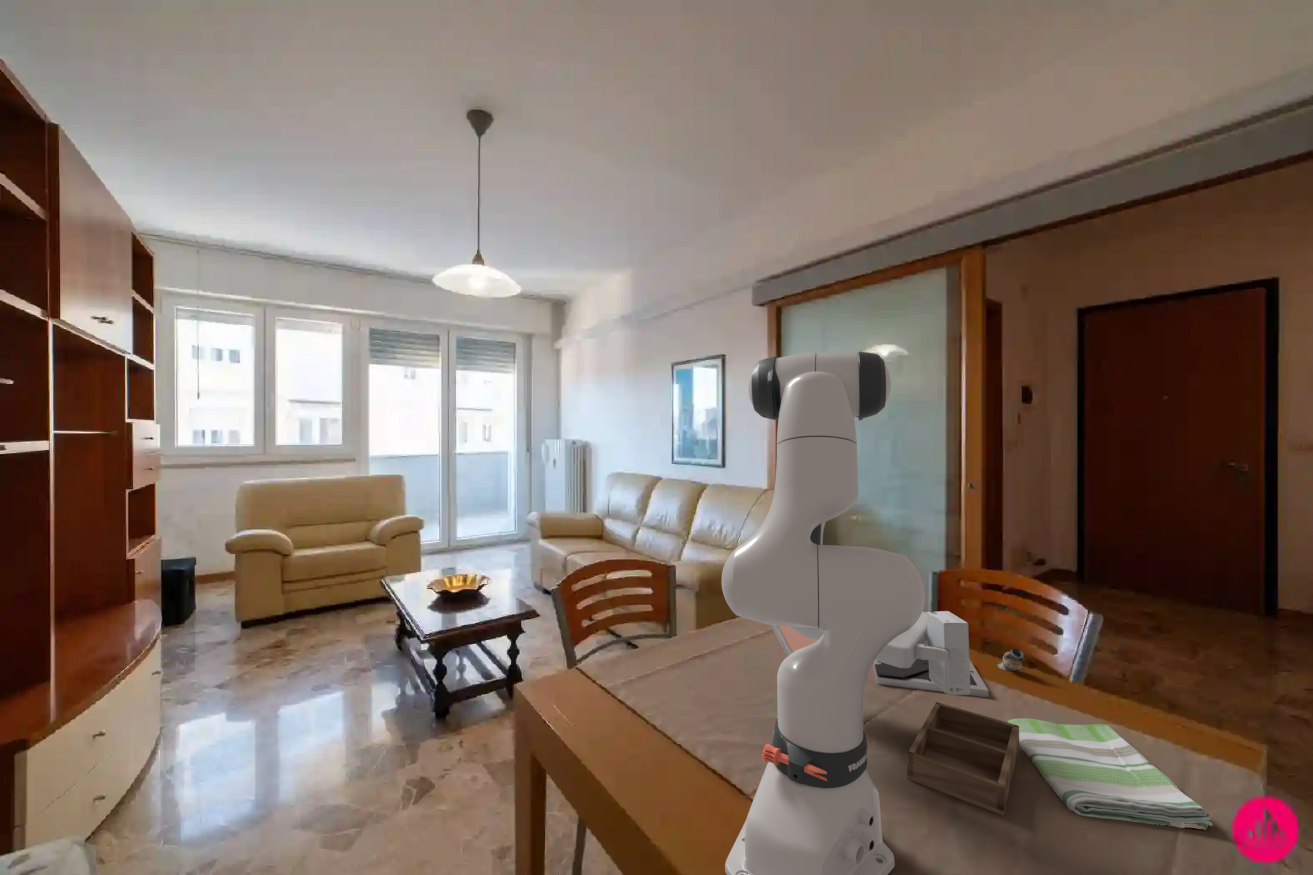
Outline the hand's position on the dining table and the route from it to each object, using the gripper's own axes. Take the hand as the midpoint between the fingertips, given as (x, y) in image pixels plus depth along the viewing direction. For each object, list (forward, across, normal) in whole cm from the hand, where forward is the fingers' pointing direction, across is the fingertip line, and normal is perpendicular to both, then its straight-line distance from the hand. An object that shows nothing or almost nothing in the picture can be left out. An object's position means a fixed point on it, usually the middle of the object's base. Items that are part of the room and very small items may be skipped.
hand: (953, 646), depth 91 cm
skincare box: (-1, 0, +7) cm, 7 cm away
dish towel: (+18, +6, +18) cm, 26 cm away
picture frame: (-10, +25, +18) cm, 32 cm away
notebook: (-38, +28, +18) cm, 50 cm away
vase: (+5, +37, +17) cm, 41 cm away
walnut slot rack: (+2, -5, +17) cm, 18 cm away
